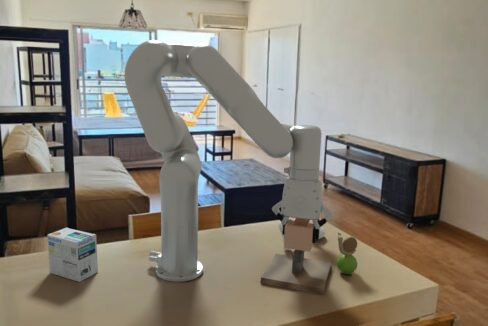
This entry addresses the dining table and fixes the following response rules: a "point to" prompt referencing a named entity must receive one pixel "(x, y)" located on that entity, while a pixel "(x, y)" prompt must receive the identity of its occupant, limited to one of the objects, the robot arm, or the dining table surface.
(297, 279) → the hub plate
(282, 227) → the lightbulb
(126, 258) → the dining table surface
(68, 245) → the light bulb box
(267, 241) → the dining table surface
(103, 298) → the dining table surface
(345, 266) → the snail figurine
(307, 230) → the tan rectangular frame
